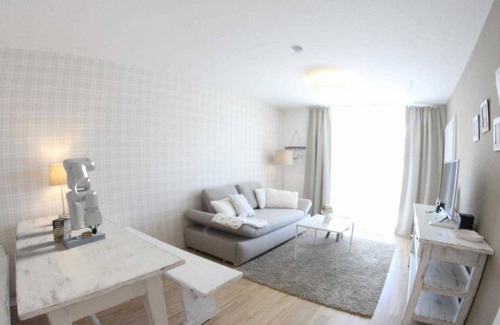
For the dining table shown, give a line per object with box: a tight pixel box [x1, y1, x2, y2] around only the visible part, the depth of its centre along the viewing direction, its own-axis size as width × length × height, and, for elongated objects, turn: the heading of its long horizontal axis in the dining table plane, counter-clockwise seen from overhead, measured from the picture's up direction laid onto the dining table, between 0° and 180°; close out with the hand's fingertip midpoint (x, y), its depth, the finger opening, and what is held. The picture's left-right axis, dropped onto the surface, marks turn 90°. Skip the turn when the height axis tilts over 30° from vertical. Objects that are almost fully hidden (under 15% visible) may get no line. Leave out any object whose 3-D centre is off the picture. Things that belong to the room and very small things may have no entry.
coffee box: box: [51, 217, 73, 243], centre depth 172 cm, size 9×6×16 cm
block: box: [81, 230, 92, 239], centre depth 169 cm, size 5×5×4 cm
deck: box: [62, 229, 106, 250], centre depth 171 cm, size 16×22×4 cm
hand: (94, 233), depth 172 cm, fingers closed
